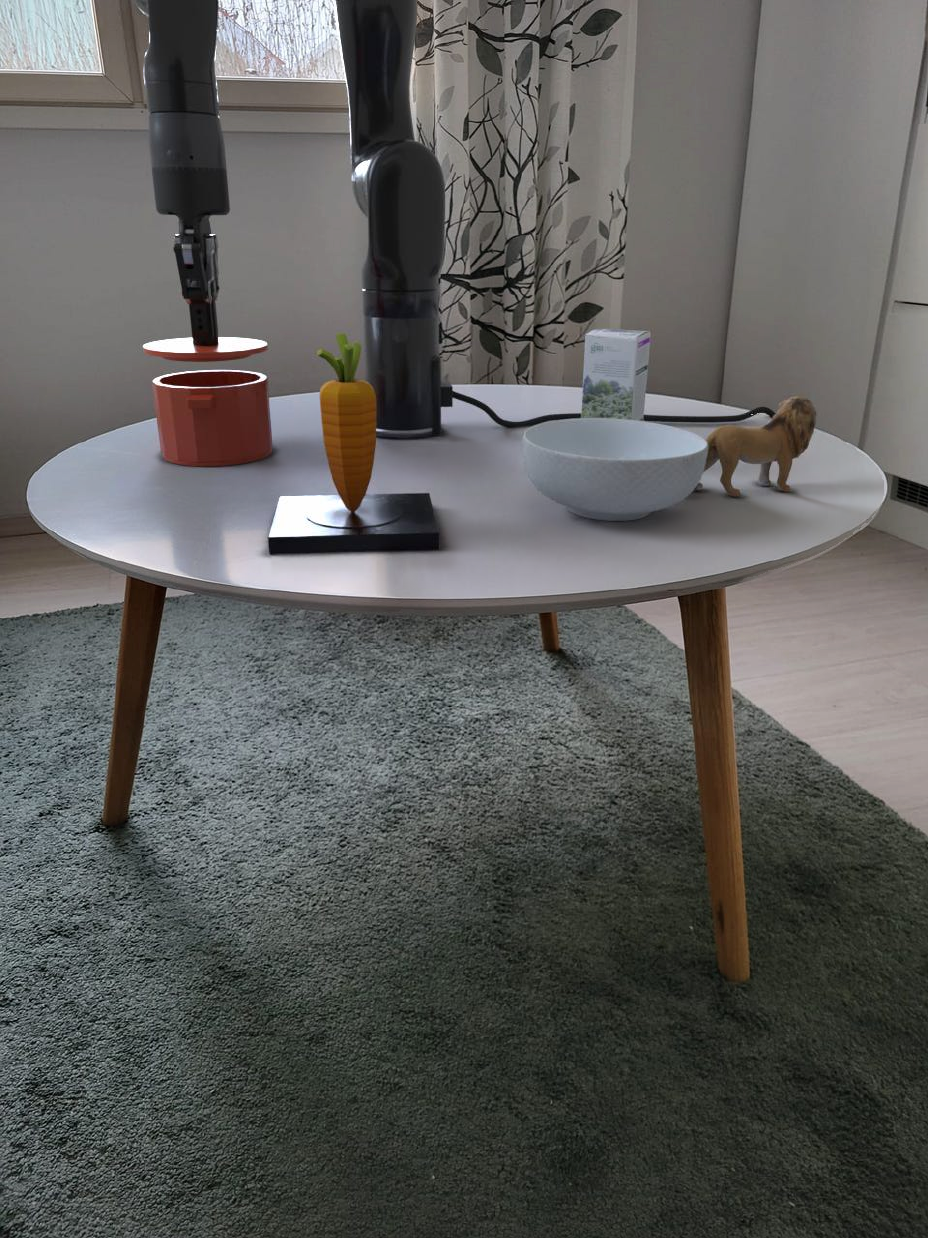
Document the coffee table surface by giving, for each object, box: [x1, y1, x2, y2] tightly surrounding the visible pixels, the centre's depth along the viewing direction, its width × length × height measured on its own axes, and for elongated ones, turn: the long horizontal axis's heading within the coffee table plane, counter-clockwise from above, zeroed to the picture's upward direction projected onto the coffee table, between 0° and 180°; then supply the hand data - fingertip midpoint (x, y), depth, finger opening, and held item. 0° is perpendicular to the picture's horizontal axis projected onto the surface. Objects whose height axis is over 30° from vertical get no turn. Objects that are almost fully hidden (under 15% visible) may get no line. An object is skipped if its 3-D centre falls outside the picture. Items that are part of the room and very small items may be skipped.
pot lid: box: [142, 292, 269, 363], centre depth 103 cm, size 13×13×7 cm
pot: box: [151, 369, 273, 467], centre depth 107 cm, size 12×18×8 cm
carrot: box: [316, 333, 377, 513], centre depth 79 cm, size 5×5×15 cm
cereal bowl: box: [522, 418, 708, 522], centre depth 87 cm, size 17×17×7 cm
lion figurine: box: [690, 396, 818, 498], centre depth 93 cm, size 15×5×9 cm, turn 116°
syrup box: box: [580, 328, 651, 421], centre depth 101 cm, size 6×6×14 cm
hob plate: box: [267, 492, 440, 555], centre depth 82 cm, size 14×12×2 cm
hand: (205, 337), depth 103 cm, fingers closed on pot lid, 3 cm apart
